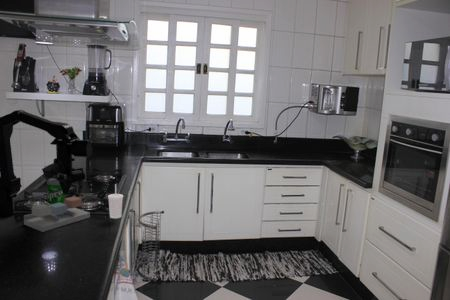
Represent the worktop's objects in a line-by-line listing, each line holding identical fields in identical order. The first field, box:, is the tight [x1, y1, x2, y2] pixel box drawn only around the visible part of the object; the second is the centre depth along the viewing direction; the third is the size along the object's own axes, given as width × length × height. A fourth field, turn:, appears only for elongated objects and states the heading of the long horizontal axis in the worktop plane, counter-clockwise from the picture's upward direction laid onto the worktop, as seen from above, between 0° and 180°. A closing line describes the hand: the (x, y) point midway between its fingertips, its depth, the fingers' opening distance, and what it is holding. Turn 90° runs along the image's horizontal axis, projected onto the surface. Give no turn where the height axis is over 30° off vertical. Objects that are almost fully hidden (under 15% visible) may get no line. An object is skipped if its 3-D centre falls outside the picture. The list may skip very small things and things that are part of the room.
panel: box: [23, 207, 91, 233], centre depth 159 cm, size 12×21×4 cm, turn 147°
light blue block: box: [48, 202, 67, 215], centre depth 158 cm, size 5×5×3 cm
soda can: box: [46, 178, 67, 204], centre depth 176 cm, size 8×8×12 cm
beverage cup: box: [107, 183, 124, 219], centre depth 166 cm, size 6×6×14 cm
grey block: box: [31, 203, 51, 217], centre depth 152 cm, size 5×5×3 cm
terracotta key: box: [64, 196, 83, 208], centre depth 164 cm, size 5×5×3 cm
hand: (65, 194), depth 160 cm, fingers closed
